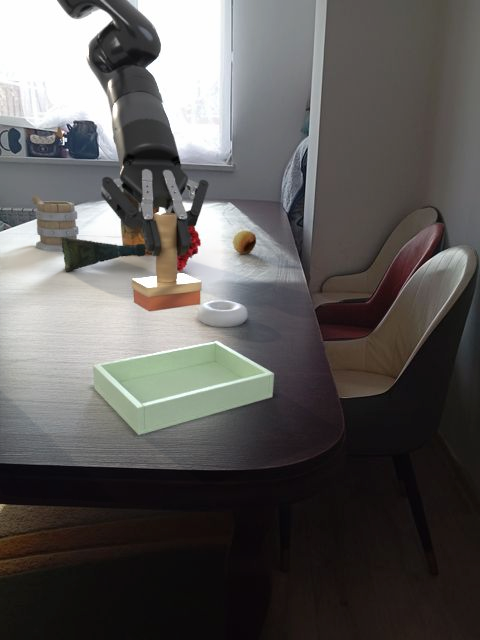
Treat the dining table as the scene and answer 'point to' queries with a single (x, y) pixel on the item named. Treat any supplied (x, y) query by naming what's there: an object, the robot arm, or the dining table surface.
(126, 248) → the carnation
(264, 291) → the dining table surface
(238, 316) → the donut
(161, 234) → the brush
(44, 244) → the tankard
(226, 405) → the tray
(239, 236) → the fruit
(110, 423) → the dining table surface
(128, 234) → the vessel
